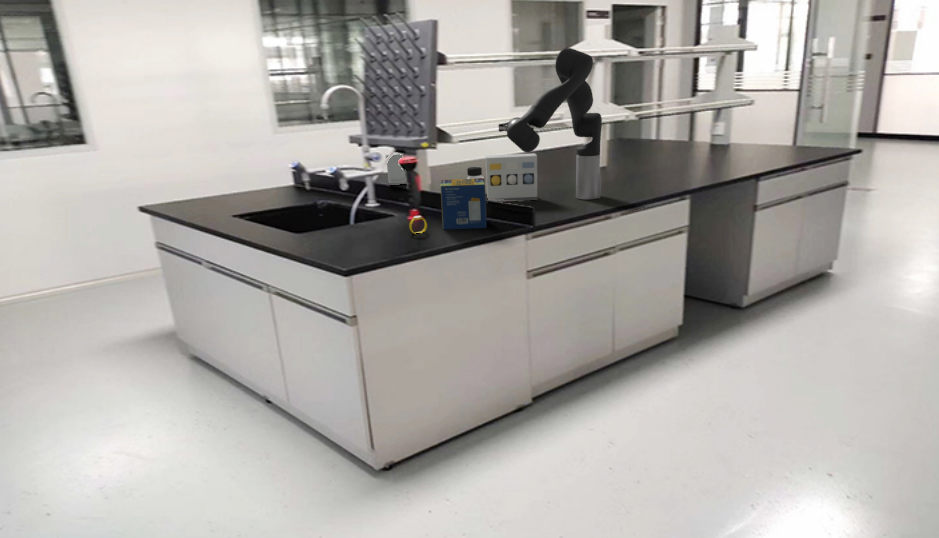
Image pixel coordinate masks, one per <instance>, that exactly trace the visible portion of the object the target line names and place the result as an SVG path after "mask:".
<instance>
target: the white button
mask: <svg viewBox="0 0 939 538" xmlns="http://www.w3.org/2000/svg"><path fill="white" fill-rule="evenodd" d="M507 180H508V183H509V184H515V183H516V181H517V178H516V176H515V175H514V174H508V176H507Z"/></svg>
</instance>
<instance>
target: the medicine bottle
mask: <svg viewBox="0 0 939 538" xmlns="http://www.w3.org/2000/svg"><path fill="white" fill-rule="evenodd" d="M482 173H483V172H482V167H480V166H478V165H477V166H476V165H475V166H470V167H468V168H467V178H466V179H477V178H484V182H485V180H486V179H485V178H486V177H484V176H483V174H482ZM485 183H486V182H485Z"/></svg>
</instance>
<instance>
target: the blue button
mask: <svg viewBox="0 0 939 538" xmlns="http://www.w3.org/2000/svg"><path fill="white" fill-rule="evenodd" d="M523 179H524V181H525V183H527V184H530V183H532V181H533V177H532V175H531V174H530V173H525V174H524V175H523Z"/></svg>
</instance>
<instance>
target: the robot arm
mask: <svg viewBox="0 0 939 538" xmlns="http://www.w3.org/2000/svg"><path fill="white" fill-rule="evenodd" d="M593 65H594V60H593V57H592V56H591V55H590V54H588V53H585V52H582V51H580V50H578V49H574V48H571V47H564V48H563V49H561V50H560V51H559V52H558V54H557V55H556V60H555V72H556V75H557V77H558V79H559V81H560V83H561V84H560V85H558V86H557V85H556V87H553V88H552V89H549V90H547V91H545V92H544V93H542V94H540V95H539V97H538V98H536V100H535V101H534V102H533V104H532V105H531V107H529V109H528V110H527V112H526V113H524V115H522V116H521V117H518V116H517V117H513V118H512V119H510V120H509V121H508V122H504V123H498V132H506V135H507V136H506V137H507V138H508V139H509V141H511V142H512V143H513V144H514V145H515V146H516V147H518V148H519V149H520V150H521V151H522V152H524V153H531V152H533V151H534V150H535V149H537V147H538V146H539V144H540V141H541V138H540V135H539V133H538V132H537V131H535V128H537V129H542V128H544V127H545V126H546V125H547V124H548V123H549V121H550V120H551V118H552V117H553V115H554V114H555V112H556V111H558V109H559V108H560V106H561V105H562V104H563V103H564V102H565V101H566V103H567V106H568V108H569V109H568V110H569V112H570V116H571V124H572V129H573V134H574V135H575V136H576V137H578V138H591V141H589V142H587V143H586V144H583V145H580V146H578V147H577V148H576V166H575V167H576V168H575V169H576V170H575V171H576V172H575V173H576V174H575V175H576V176H575V197H576V198H577V199H580V200H596V199H601V189H602V187H601V185H602V181H601V180H602V175H601V174H602V173H600V171H601V139H602V138H601V137H602V126H603V124H602V123H603V121H602V119H603V118H602V115H601V113H599V112H589V111H590V110H591V108H592V106H593V104H594V97H593V91H592V88H591V86H590V84H589V83H588V82H587V81H586V80H587V79H588V77H589V75H590V74H591V71H592V69H593Z"/></svg>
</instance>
